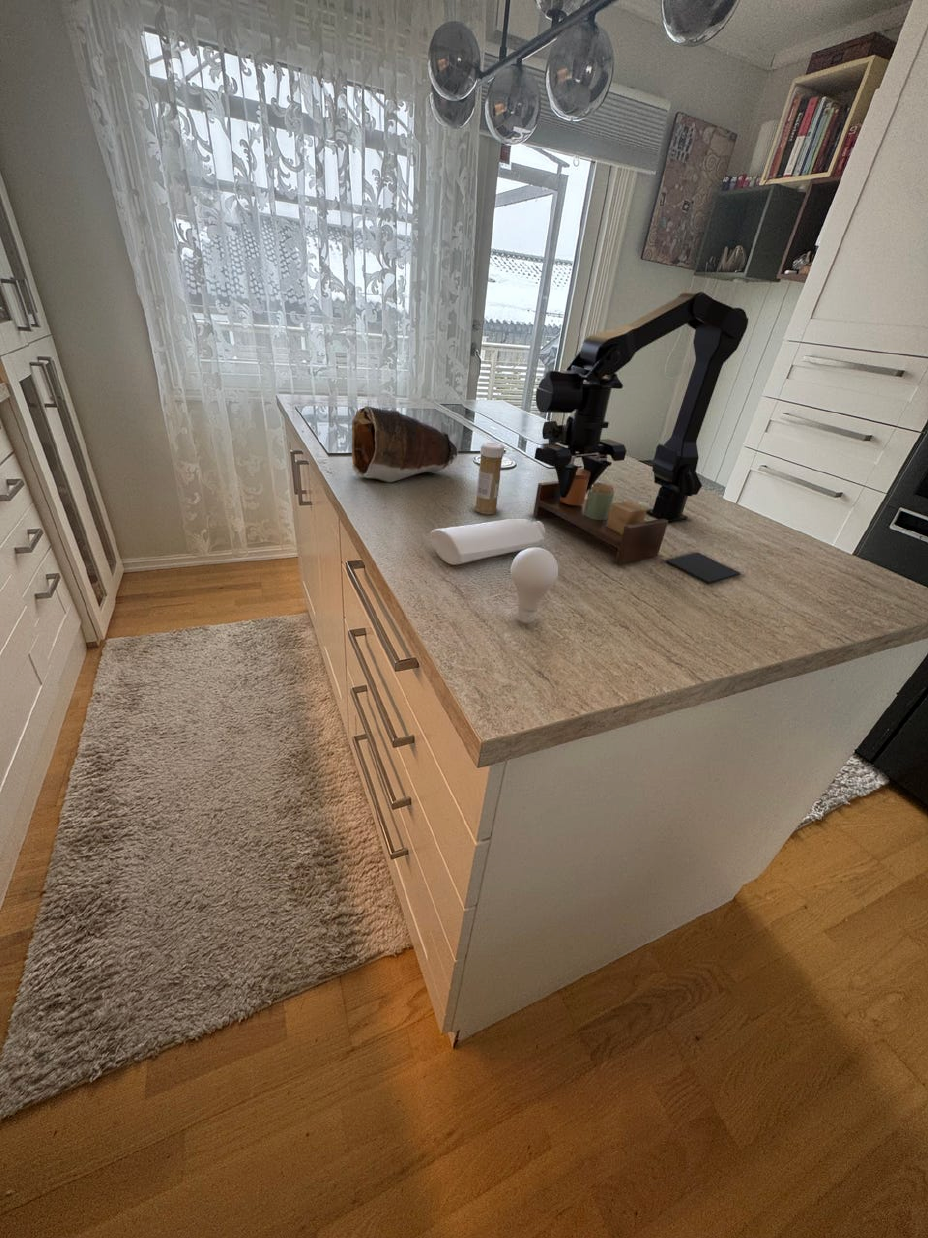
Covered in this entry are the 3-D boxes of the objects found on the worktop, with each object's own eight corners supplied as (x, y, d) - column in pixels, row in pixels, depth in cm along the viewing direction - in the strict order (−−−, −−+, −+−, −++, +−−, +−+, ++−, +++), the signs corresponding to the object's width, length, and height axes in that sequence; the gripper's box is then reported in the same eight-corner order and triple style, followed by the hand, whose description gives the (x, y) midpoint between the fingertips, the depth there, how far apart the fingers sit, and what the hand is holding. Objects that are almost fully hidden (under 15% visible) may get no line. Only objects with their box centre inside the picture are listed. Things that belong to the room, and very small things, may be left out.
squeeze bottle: (429, 549, 89) (430, 521, 86) (520, 533, 98) (524, 507, 96) (458, 573, 82) (461, 544, 79) (553, 553, 92) (558, 526, 89)
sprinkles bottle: (500, 513, 106) (509, 447, 99) (482, 516, 104) (490, 448, 97) (487, 506, 110) (495, 441, 102) (470, 508, 107) (476, 442, 100)
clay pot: (478, 427, 120) (379, 406, 106) (466, 493, 125) (370, 482, 111) (445, 421, 131) (352, 402, 117) (436, 482, 136) (345, 471, 122)
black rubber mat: (696, 554, 97) (697, 552, 97) (739, 574, 91) (740, 572, 91) (665, 562, 93) (666, 560, 93) (708, 584, 87) (709, 582, 86)
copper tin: (572, 495, 106) (578, 466, 103) (589, 503, 103) (596, 473, 100) (554, 498, 104) (559, 468, 101) (570, 506, 100) (577, 476, 97)
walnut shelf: (568, 510, 112) (575, 478, 108) (657, 556, 95) (668, 520, 91) (532, 516, 107) (538, 483, 103) (619, 565, 90) (630, 528, 86)
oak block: (622, 523, 96) (628, 500, 94) (640, 532, 93) (647, 508, 91) (605, 526, 94) (611, 503, 92) (623, 535, 91) (630, 511, 89)
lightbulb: (500, 610, 73) (510, 538, 68) (542, 611, 74) (556, 540, 68) (507, 634, 68) (518, 558, 63) (551, 635, 69) (567, 561, 63)
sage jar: (596, 510, 101) (602, 481, 98) (613, 518, 98) (620, 488, 95) (578, 513, 99) (585, 483, 96) (595, 521, 96) (603, 491, 93)
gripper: (595, 403, 105) (579, 479, 113) (522, 405, 95) (511, 487, 104) (637, 415, 97) (616, 496, 105) (562, 418, 88) (546, 506, 96)
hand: (572, 496), depth 103 cm, fingers closed on copper tin, 5 cm apart
